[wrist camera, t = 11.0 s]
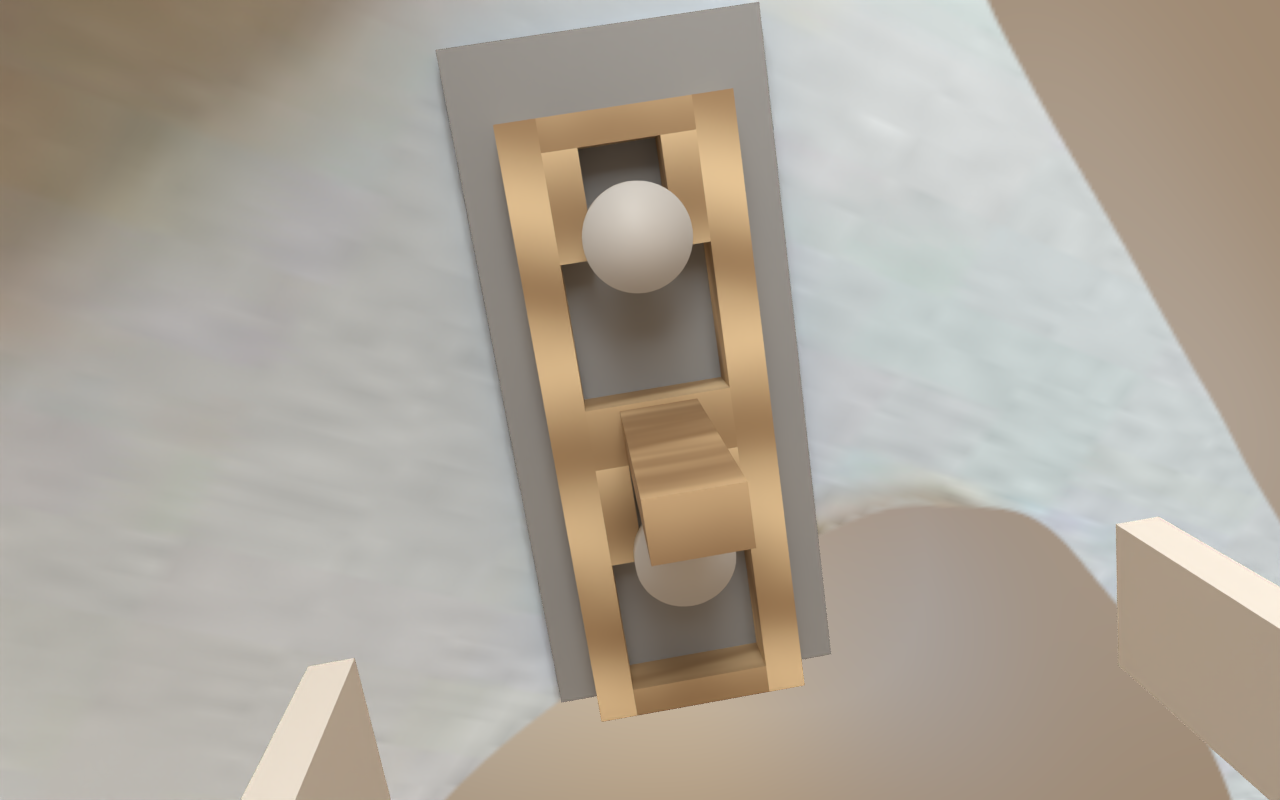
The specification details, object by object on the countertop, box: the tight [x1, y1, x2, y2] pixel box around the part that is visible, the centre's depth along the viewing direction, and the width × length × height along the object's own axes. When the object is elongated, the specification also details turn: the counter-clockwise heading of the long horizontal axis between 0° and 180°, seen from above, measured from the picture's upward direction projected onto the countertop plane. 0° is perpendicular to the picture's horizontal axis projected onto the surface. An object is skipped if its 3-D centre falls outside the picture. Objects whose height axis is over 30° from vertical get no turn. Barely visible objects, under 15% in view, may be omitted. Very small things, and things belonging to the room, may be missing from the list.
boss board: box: [436, 2, 831, 702], centre depth 35 cm, size 27×12×5 cm, turn 9°
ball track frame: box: [493, 88, 804, 722], centre depth 31 cm, size 24×9×12 cm, turn 9°
